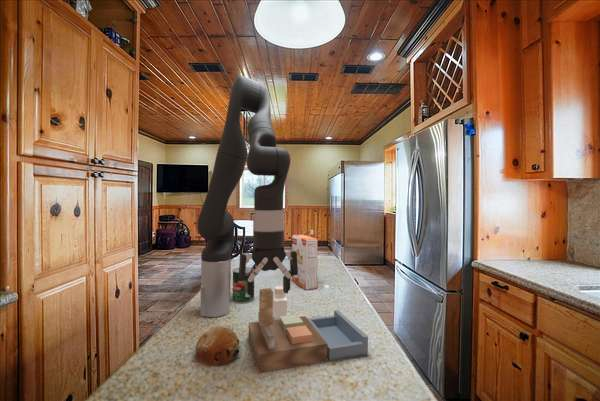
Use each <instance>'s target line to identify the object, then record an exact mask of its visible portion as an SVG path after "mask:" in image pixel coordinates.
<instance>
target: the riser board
mask: <svg viewBox="0 0 600 401" xmlns="http://www.w3.org/2000/svg"><path fill="white" fill-rule="evenodd" d="M299 317H300V319H301V320H302V321H303V326H305V325H306V327H307V328H308V329H309V331H310V332H311V333H312V341H311V342H304V343H297V344H292V343H291V342H290V340H289V338H288V336H287V335H286V330H285V331H284V329H283V328H282V326H281V324H280V319H276V320H275V319H273V325H270V328H271V330H272V332H273V334H274V349H273V350H269V349H268V347H267V344H266V341H265V339H264V336H263V334H262V331H261V329H260V326H259V324H258V321H250V322H248V341H249V345H250V348H251V351H252V355H253V358H254V361H255V364H256V369H257V371H258V373H263V372H268V371H269V372H270V371H276V370H281V369H287V368H294V367H300V366H304V365H305V366H306V365H311V364H317V363H323V362H328V359H327V343H326V341H325V340H324V339H323V338H322V336H321V335H320V334H319V333H318V331H317V330H316V329H315V328H314V326H313V325H312V324H311V323H310V321H309V320H308V317H307V316H305V315H304V316H303V315H302V316H299Z"/></svg>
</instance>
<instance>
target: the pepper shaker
mask: <svg viewBox="0 0 600 401" xmlns="http://www.w3.org/2000/svg"><path fill="white" fill-rule="evenodd" d="M280 316H288V298H287V296H286V293H284V292H283V285H279V286H278V285H277V286H275V287H274V296H273V320H276V319H280Z"/></svg>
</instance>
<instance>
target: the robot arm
mask: <svg viewBox="0 0 600 401" xmlns="http://www.w3.org/2000/svg"><path fill="white" fill-rule="evenodd" d="M269 91H270V90H269V88H268V87H266V85H264V84H262V83H260V82H258V81H256V80H254V79H251V78H250V77H246V76H245V75H241V74H240V75H238V76H236V77H235V79H234V81H233V83H232V87H231V90H230V95H229V101H228V105H227V112H226V117H225V122H224V126H223V131H222V134H221V138H220V142H219V145H218V149H217V153H216V155H215V161H214V164H213V170H212V174H211V177H210V182H209V184H208V190H207V193H206V197H205V199H204V202H203V205H202V207H201V210H200V211H199V215H198V218H197V223H196V224H197V226H196V227H197V232H198V233H199V235H200V237H201V238H203V239H204V240H207V243H206V245H205V246H204V248H203V249H202V251H201V254H200V256H201V260H200V262H201V263H200V264H201V266H200V269H201V270H200V271H201V272H200V308H199V309H200V310H199V311H200V314H199V315H200V316H199V317H207V318H217V317H218V318H219V317H222V316H225V315H227V314H229V313H230V311H231V276H232V275H231V274H232V272H231V271H232V270H231V266H232V260H231V259H232V251H233V248H234V243H235V242H234V241H235V240H234V239H235V238H234V237H235V221H234V217H233V215H232V214H231V213H230V212H229V211H228V210H227V207H228V204H229V201H230V199H231V198H230V197H231V195H232V194H233V192H234V190H235V188H236V187H237V186H238V184H239V183H240V181H241V179H242V176H243V174H244V171H245V168H246V167H247V170H248V171H249V172H250V173H251V174H252V175H255V176H265V177H266V176H270V177H272V176H273V180H272V181H271V183H269V184H265V185H259V186H256V187H255V189H254V191H253V192H254V193H253V194H254V195H253V196H254V197H253V198H254V199H253V218H252V219H253V224H252V227H253V228H252V232H253V234H252V237H253V238H252V240H253V243H252V246H253V248H252V253H245V252H241V253H240V254H239V266H238V268H239V277H240V279H241V280H245V281H247V293H248V295H250V297H254V298H255V281H254V282H253V279H254V280H255V278H256V277H257V276H258V274H259V273H260V272H261V271H263V272H268V271H276V270H277V269H279V271H281V273H282V274H283V277H282V279H283V280H282V286H283V292H284V293H285V294H289V292H290V290H291V280H292V276H294V275H297V274H298V266H297V253H296V252H295V251H294V250H292V249H290V250H289V251H285V216H284V215H285V214H284V210H283V209H284V192H285V191H284V190H285V184H286V182H287V181H286V180H287V177H288V173H289V170H290V167H291V155H290V153H289V151H288V150H287V149H286V148H284V147H281V146H277V144H278V143H277V142H278V139H277V136H276V133H275V130H274V126H273V123H272V116H271V111H272V110H271V97H270V92H269ZM241 110H245V111H248V112H250V113H254V115H252V116H251V117H250V118H249V121H248V123H247V128H246V129H247V137H248V140H249V149H248V147H247V144H246V140H245V137H244V134H243V130H242V127H241ZM286 257H287V259H288V260H289V268H290V269H289V270H288V269H287V268H286V266H285V265H284V264H283V261H284V260H285V259H286ZM250 260H252V261H253V262H254V264H253V265H252V266H251V270H250V272H249V273H248V275H247V274H245V273H246V267H247V264H248V263H249V262H250Z"/></svg>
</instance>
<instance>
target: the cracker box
mask: <svg viewBox="0 0 600 401" xmlns="http://www.w3.org/2000/svg"><path fill="white" fill-rule="evenodd" d="M291 237H292V238H291V241H292V242H291V243H292V244H291V250H294V251H295V252H296V253H297V266H298V274H297V275H294V276H292V277H291V281H292V282H293V283H294V284H296V285H298V286H299V287H300V288H302V289H303V290H304V291H308V290H314V289H318V249H319V248H318V247H319V246H318V240H319V239H318V238H315V237H312V236H309V235H306V234H292V236H291Z"/></svg>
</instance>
